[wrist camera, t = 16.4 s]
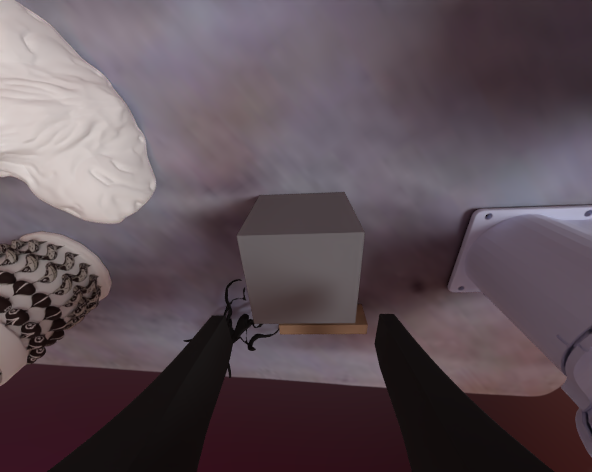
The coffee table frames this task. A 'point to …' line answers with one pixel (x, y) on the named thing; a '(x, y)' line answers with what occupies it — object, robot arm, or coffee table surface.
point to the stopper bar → (328, 326)
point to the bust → (66, 125)
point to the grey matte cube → (302, 258)
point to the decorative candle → (44, 294)
